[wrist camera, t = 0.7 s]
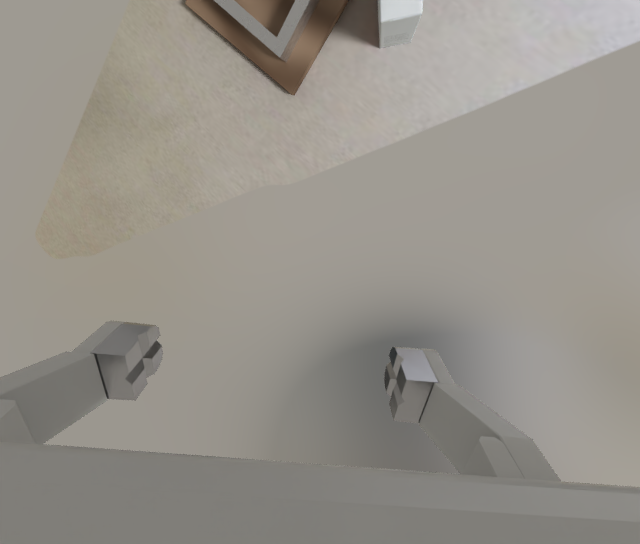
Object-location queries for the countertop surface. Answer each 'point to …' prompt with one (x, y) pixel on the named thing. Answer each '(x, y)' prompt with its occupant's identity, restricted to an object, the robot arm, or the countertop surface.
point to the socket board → (274, 32)
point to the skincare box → (398, 21)
